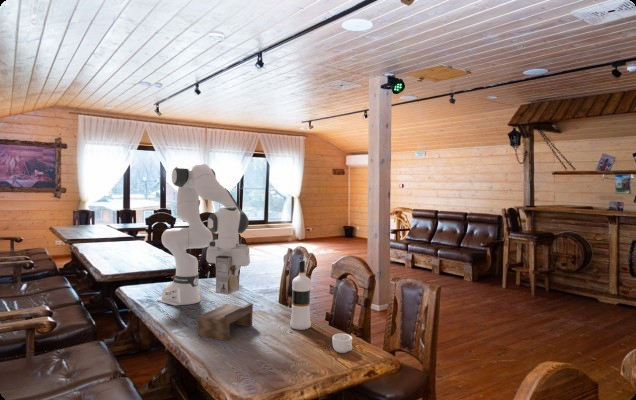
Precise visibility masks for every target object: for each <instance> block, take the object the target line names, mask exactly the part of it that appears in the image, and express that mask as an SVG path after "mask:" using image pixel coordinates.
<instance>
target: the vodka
mask: <svg viewBox="0 0 636 400" xmlns="http://www.w3.org/2000/svg"><path fill="white" fill-rule="evenodd" d="M298 262H299V263H298V275H297V276H295V277H294V278H293V279H292V283H291V285H292V286H291V288H292V289H291V290H292V295H291V297H292V299H291V300H292V301H291V302H292V303H291V316H290V321H289V322H290V323H289V326H290V328H291V329H293V330H296V331H297V330H298V331H306V330H308V329H309V328H311V326H312V324H311V323H312V322H311V316H310V314H311V313H310V312H311V311H310V310H311V289H312V287H311V285H312V282H311V278H309V277H308V276H307V275H305V273H306V269H305V268H306V261H305V260H299V261H298ZM305 329H306V330H305Z"/></svg>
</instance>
